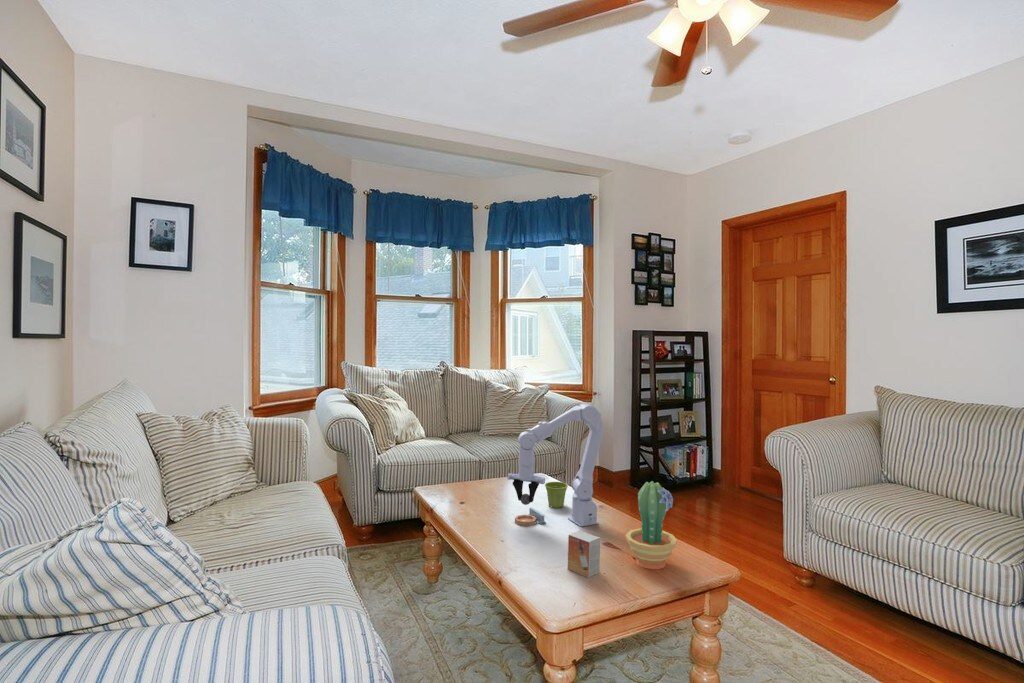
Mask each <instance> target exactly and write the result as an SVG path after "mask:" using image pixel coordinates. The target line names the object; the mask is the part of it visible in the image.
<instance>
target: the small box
mask: <svg viewBox="0 0 1024 683" xmlns="http://www.w3.org/2000/svg"><path fill="white" fill-rule="evenodd" d="M567 539H568V542H567V544H568V545H567V546H568V547H567V569H568V570H569V571H572V572H575V573H577V574H579V575H582V576H584V577H586V578H591V577H593V576H594V575H596V574H599V573H600V570H601V569H600V568H601V567H600V565H601V563H600V562H601V537H599V536H596V535H594V534H590V533H587V532H584V531H582V530H576V531H575V532H572V533H569V534H568V538H567Z"/></svg>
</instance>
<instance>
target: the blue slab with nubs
mask: <svg viewBox="0 0 1024 683" xmlns="http://www.w3.org/2000/svg"><path fill="white" fill-rule="evenodd" d="M528 510H529V513H528V515H532V516H534V517H536V522H538V524H539V525H546V524H547V521H545V515H544V514H542V513H541V512H540V511H538V510H536V509H535V508H533V507H529V509H528Z"/></svg>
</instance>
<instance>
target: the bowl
mask: <svg viewBox="0 0 1024 683" xmlns="http://www.w3.org/2000/svg"><path fill="white" fill-rule="evenodd" d="M514 522H515V524H517V525H518V526H524V527H525V526H526V527H529V526H534V525H535V524H536V523H537V520H536V517H534V516H532V515H529V514H520V515H517V516H515V517H514Z"/></svg>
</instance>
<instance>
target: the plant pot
mask: <svg viewBox="0 0 1024 683" xmlns="http://www.w3.org/2000/svg"><path fill="white" fill-rule="evenodd" d="M544 487H545V490H546V493H547V494H546V495H547V501H548V502H547V505H548V506H549V507H552V508H553V509H560V508H563V507H564V506H565V497H566V491H567V490H568V487H569V485H568V483H566V482H562V481H550V482H549V481H548V482H545V483H544Z"/></svg>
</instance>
